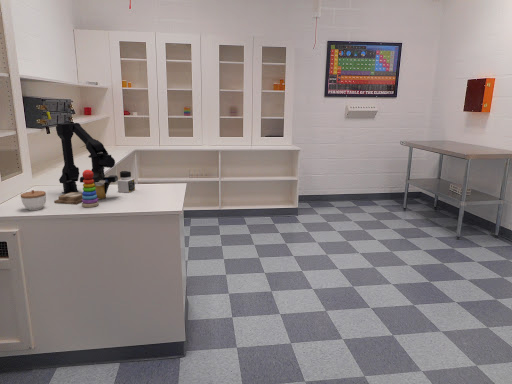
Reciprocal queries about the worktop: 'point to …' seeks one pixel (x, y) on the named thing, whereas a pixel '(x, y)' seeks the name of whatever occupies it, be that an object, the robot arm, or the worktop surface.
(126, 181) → the medicine bottle
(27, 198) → the lidded jar
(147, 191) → the worktop surface
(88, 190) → the stacking toy
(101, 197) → the amber jar
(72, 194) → the walnut plinth
